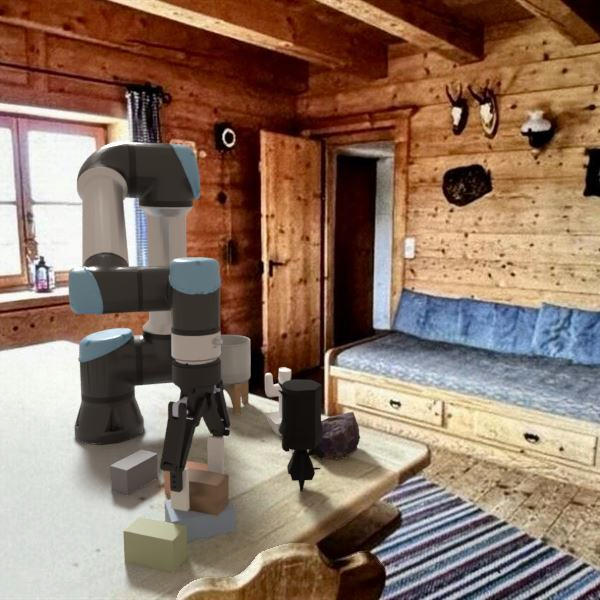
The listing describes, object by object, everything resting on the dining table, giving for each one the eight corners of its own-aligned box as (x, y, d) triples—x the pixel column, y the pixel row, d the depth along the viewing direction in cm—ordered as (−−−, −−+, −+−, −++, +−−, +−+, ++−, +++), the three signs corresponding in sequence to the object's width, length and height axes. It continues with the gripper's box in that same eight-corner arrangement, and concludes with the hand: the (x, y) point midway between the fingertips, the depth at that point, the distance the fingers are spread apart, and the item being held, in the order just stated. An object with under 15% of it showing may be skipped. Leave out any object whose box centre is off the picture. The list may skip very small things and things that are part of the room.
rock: (305, 456, 121) (329, 474, 112) (299, 419, 119) (324, 435, 111) (350, 438, 126) (377, 454, 118) (345, 402, 125) (372, 416, 116)
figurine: (309, 433, 130) (310, 370, 128) (271, 440, 126) (271, 375, 124) (296, 423, 137) (296, 362, 134) (259, 429, 133) (259, 367, 130)
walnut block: (172, 507, 91) (171, 477, 90) (185, 495, 94) (184, 467, 94) (217, 515, 88) (217, 485, 87) (228, 503, 92) (228, 474, 91)
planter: (192, 404, 149) (190, 338, 146) (234, 395, 157) (234, 332, 154) (215, 419, 139) (214, 348, 136) (260, 408, 146) (259, 341, 144)
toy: (275, 479, 108) (275, 377, 105) (323, 477, 109) (325, 377, 106) (277, 501, 100) (277, 392, 97) (329, 499, 101) (331, 391, 98)
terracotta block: (164, 494, 102) (164, 468, 101) (176, 484, 106) (175, 459, 105) (204, 501, 100) (204, 474, 99) (214, 490, 104) (214, 465, 103)
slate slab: (172, 546, 87) (171, 522, 86) (165, 522, 93) (164, 500, 93) (235, 533, 91) (235, 509, 90) (224, 511, 97) (224, 489, 96)
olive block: (124, 562, 82) (123, 530, 82) (140, 547, 86) (139, 516, 85) (173, 573, 80) (172, 540, 79) (187, 557, 84) (186, 526, 83)
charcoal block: (127, 496, 101) (126, 470, 100) (111, 491, 103) (110, 465, 102) (158, 478, 108) (157, 453, 107) (142, 473, 110) (141, 449, 109)
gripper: (179, 382, 75) (183, 533, 79) (248, 343, 98) (249, 462, 101) (130, 376, 77) (136, 524, 81) (209, 339, 100) (211, 456, 103)
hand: (199, 489), depth 91 cm, fingers open, 11 cm apart
